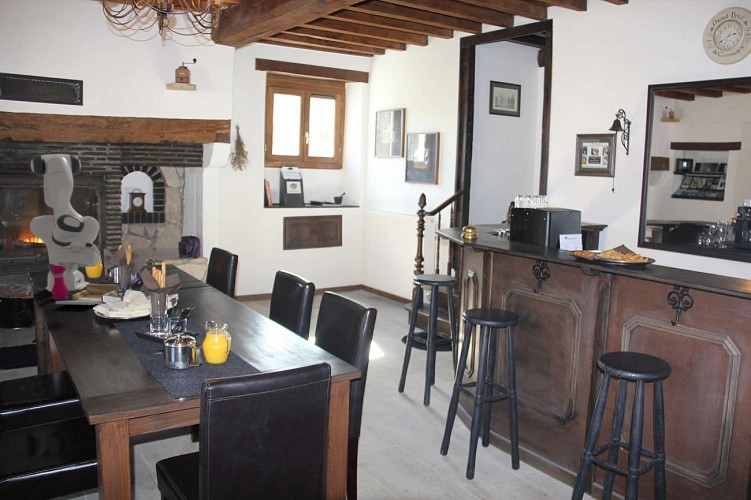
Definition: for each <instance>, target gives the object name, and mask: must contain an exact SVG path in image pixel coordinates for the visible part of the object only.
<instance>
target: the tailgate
mask: <svg viewBox="0 0 751 500" xmlns="http://www.w3.org/2000/svg"><path fill="white" fill-rule="evenodd" d="M99 303H102V304H104V303H103V302H95V301H73V300H55V305H79V306H80V305H81V306H85V305H86V306H87V305H88V306H91V305H95V304H97V305H100V304H99ZM95 306H96V305H95Z"/></svg>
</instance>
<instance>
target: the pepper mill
mask: <svg viewBox="0 0 751 500" xmlns="http://www.w3.org/2000/svg"><path fill="white" fill-rule="evenodd" d="M51 271H52V272H53V273H54V274H53V277H54V286H53V288H52V292H51V294H52V296H53V298H52V299H53V300H54V301H63V300H66V299H68V294H69V291H68V288H67V286H66V285H65V282H64V276H65V275H64V271H65V266H57V265H53V266H52V268H51Z"/></svg>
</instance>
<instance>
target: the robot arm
mask: <svg viewBox="0 0 751 500" xmlns="http://www.w3.org/2000/svg"><path fill="white" fill-rule="evenodd" d="M81 168H82V163H81V160H80V158H79V157H78V155H76V154H73V153H72V154H65V153H55V154H53V153H52V154H42V155H41V154H37V155H34V156H33V157H32V159H31V161H30V169H31V172H33V175H35V176H37V177H41V178H43V193H44V194H43V195H44V196H43V197H44V203H45V204H46V205H47V206H48V207H49V208H51V209H52V210H53V214H49V215H48V214H47V215H46V214H45V215H39V216H36V217H33V218H32V219H31V221H30V225H29V227H30V228H29V229H30V232H31V233H32V234H33V235H34V236H35V237H37V238H39V239H40V240H41V241H42V242H43V243H44V244H45V246H46V249H47V253H48V259H49V260H48V261H49V263H48V271H49V272H48V273H47V286H46V287H45V290H47V291H48V292H51V293H52V288H53V286H54V277H53V274H54V273H53V272H52V271H51V268H52V266H53V265H57V266H65V271H64V275H65V276H64V282H65V285H66V286H67V288H68V292H69V291H70V292H71V291H81V290H82V289H84V288H85V287H86V288H87V284H90V282H87V281H85V277H84V274H83V273H82V272H81V271H80V270H78V269H79V267H83V268H95V267H96V266H97V265H98V262H99V258H100V254H101V250H99V248H98V246H97V245H96V244H95V243H94V241H95V240H96V238H97V237H98V233H99V230H100V223H99V222H98V220H97V219H96V218H94V217H93V216H89V215H86V216H82V215H81V214H79V213H78V212H77V211H76V210H75V209H74V208H73V206H72V204H71V201H70V200H71V198H72V194H73V191H74V176H77V175H78V174H80V171H81Z"/></svg>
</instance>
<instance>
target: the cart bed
mask: <svg viewBox="0 0 751 500" xmlns="http://www.w3.org/2000/svg"><path fill="white" fill-rule="evenodd" d="M103 296H113V297H115V298H117V297H119V284H109V283H108V284H106V283H105V284H104V283H102V284H101V283H89V284H87V286H86V289H84V290H82V291H79V292H77V293H75V294H72V301H95V302H103Z"/></svg>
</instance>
